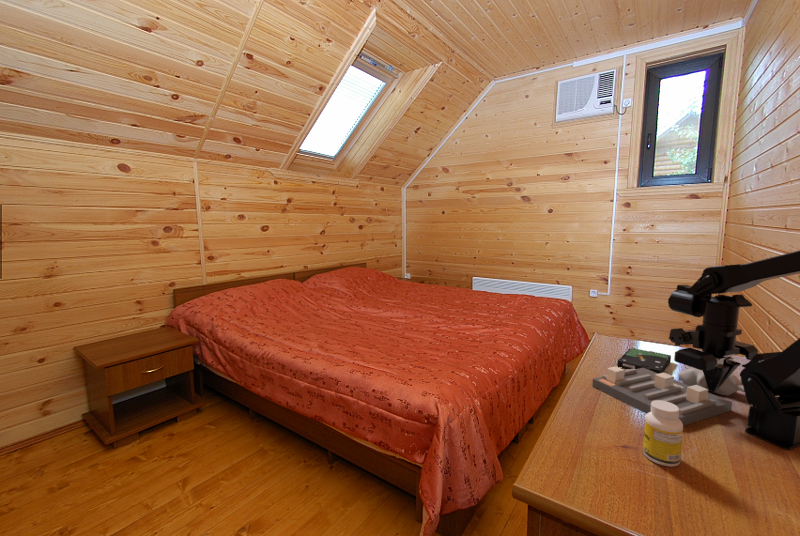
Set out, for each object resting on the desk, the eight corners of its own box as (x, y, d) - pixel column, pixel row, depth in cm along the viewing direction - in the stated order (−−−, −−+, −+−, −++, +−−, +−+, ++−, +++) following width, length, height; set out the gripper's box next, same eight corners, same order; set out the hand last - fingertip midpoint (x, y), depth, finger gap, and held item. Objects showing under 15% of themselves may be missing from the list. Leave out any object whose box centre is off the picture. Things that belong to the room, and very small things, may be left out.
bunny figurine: (684, 361, 97) (763, 371, 86) (685, 380, 97) (764, 393, 86) (675, 371, 91) (759, 384, 79) (676, 391, 91) (760, 407, 80)
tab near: (706, 402, 79) (708, 389, 79) (697, 405, 78) (699, 391, 78) (694, 397, 81) (695, 384, 81) (685, 399, 80) (687, 387, 80)
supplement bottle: (644, 444, 68) (648, 395, 67) (680, 456, 65) (685, 404, 63) (640, 459, 64) (644, 406, 63) (679, 472, 61) (684, 417, 59)
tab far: (623, 381, 89) (624, 369, 89) (615, 383, 88) (615, 371, 88) (615, 377, 92) (615, 366, 91) (606, 379, 91) (607, 368, 90)
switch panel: (731, 410, 79) (732, 398, 79) (676, 428, 73) (677, 415, 73) (642, 374, 98) (643, 364, 98) (592, 386, 92) (593, 375, 91)
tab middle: (672, 388, 85) (674, 376, 85) (664, 390, 84) (665, 378, 84) (662, 384, 88) (663, 372, 87) (654, 386, 87) (654, 374, 86)
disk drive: (660, 380, 96) (670, 363, 106) (661, 370, 96) (671, 354, 106) (616, 369, 103) (629, 354, 114) (617, 360, 103) (630, 346, 113)
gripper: (705, 310, 90) (699, 370, 92) (652, 318, 83) (647, 382, 86) (763, 321, 80) (754, 389, 82) (708, 332, 73) (700, 405, 75)
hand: (712, 390), depth 81 cm, fingers closed
